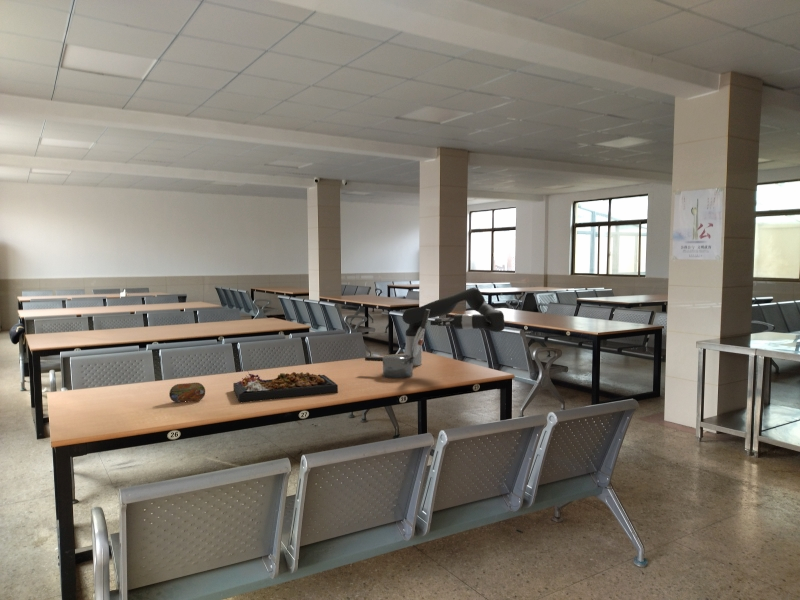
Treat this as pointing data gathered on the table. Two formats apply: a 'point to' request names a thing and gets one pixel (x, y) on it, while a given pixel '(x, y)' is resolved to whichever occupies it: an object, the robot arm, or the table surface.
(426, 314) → the cooker lid
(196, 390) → the tin
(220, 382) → the table surface
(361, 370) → the table surface
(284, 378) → the food platter
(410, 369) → the cooker pot
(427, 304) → the robot arm
